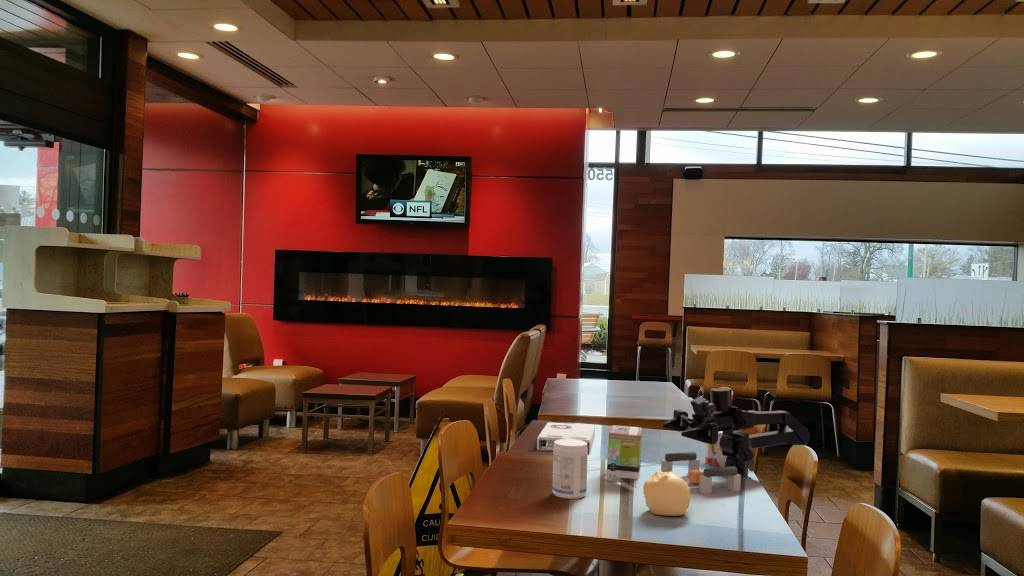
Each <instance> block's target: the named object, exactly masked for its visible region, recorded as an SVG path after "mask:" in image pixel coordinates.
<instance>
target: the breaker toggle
mask: <svg viewBox="0 0 1024 576" xmlns="http://www.w3.org/2000/svg"><path fill="white" fill-rule="evenodd" d="M688 475H689V476H688V477H689V481H691V482H693V483H699V482H700V476H701V475H704V473H703V471H701V470H700V469H699V470H693V471H690V472H689V473H688Z"/></svg>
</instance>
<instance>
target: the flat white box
mask: <svg viewBox="0 0 1024 576" xmlns="http://www.w3.org/2000/svg"><path fill="white" fill-rule="evenodd" d="M595 436H596V425H594V424H579V423H578V424H577V423H564V422H550V421H548V422H547V423H546V424H545V426H544V427H543V428H542V430H541V432H540V433H539V434H538V435H537V438H536V450H537V451H546V452H547V451H549V452H550V451H551V452H553V448H554V442H555V441H556V440H560V439H576V440H582V441H585V442H586V443H587V450H588V452H587V455H588V454H589V455H590V454H591V452H592V448H593V444H594V440H595Z"/></svg>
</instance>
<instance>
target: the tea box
mask: <svg viewBox="0 0 1024 576" xmlns="http://www.w3.org/2000/svg"><path fill="white" fill-rule="evenodd" d="M607 444H608V445H607V461H606V477H605V478H606V481H609V482H615V481H619V482H618V483H625V482H627V481H626V480H624V479H633V480H634V479H635V480H639V478H640V473H641V463H642V447H643V427H638V426H630V425H629V426H628V425H618V424H617V425H615V424H614V425H613V424H612V425H611V427H610V429H609V433H608V442H607Z"/></svg>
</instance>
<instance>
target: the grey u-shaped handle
mask: <svg viewBox="0 0 1024 576" xmlns="http://www.w3.org/2000/svg"><path fill="white" fill-rule="evenodd" d="M697 457H698V456H697V453H696V451H692V452H674V453H665V455H664V459H662V460H661V463H660V464H661V466H660V467H661V468H660V471H662V472H671V471H672V472H673V463H674V462H681V461H682V462H684V461H686V462H687V461H688V468H687V469H688V471H687V473H688V474H689V472H690V471H693V470H699V471H700V467H701V466H700V465H701V463H700V462H701V460H700V459H699V458H697Z"/></svg>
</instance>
